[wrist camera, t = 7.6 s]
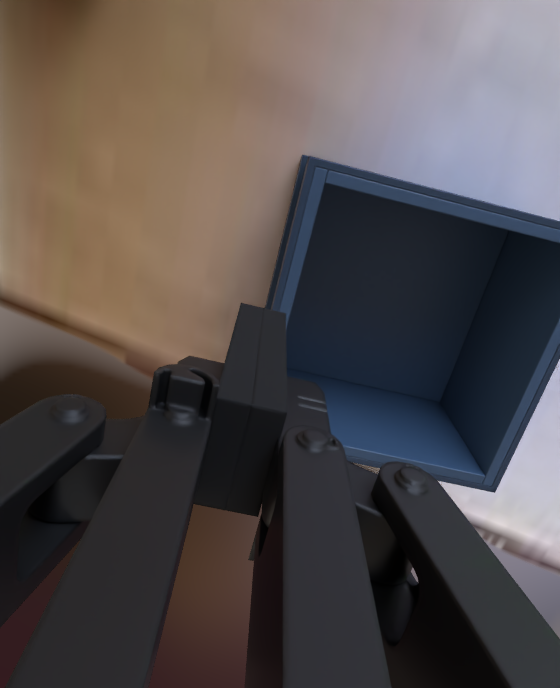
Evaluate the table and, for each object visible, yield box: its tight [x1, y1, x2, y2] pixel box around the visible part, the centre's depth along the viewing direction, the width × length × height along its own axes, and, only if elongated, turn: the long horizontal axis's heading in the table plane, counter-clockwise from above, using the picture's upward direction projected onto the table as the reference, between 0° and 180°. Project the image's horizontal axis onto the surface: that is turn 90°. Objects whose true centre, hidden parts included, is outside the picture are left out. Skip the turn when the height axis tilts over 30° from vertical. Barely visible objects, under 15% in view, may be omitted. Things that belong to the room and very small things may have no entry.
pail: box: [265, 155, 560, 492], centre depth 25 cm, size 13×8×13 cm
